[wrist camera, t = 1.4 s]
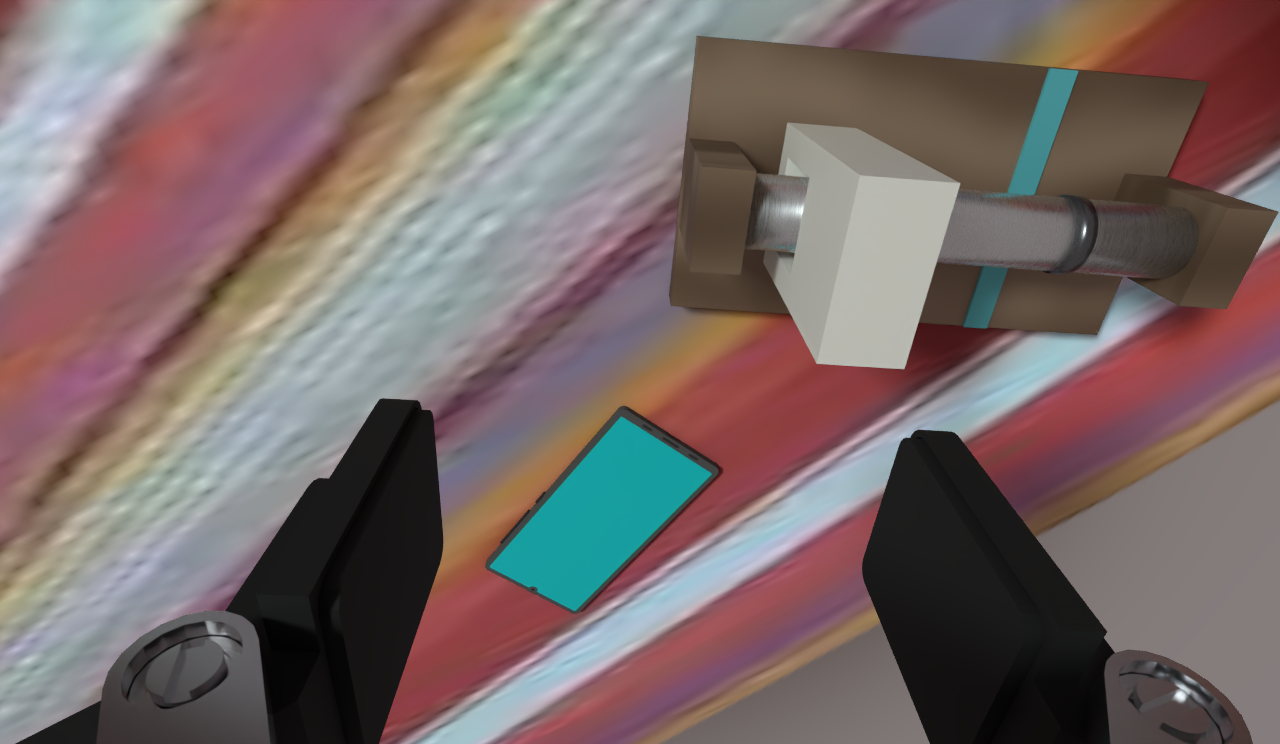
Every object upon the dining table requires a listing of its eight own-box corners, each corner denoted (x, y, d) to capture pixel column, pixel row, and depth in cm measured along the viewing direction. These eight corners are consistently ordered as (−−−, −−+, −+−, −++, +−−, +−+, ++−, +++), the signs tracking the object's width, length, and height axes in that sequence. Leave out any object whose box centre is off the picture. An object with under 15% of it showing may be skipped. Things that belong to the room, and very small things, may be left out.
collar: (787, 122, 29) (860, 175, 20) (856, 128, 29) (960, 183, 20) (762, 262, 31) (816, 363, 22) (826, 266, 32) (904, 369, 23)
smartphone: (721, 470, 40) (576, 615, 45) (719, 462, 40) (577, 605, 46) (621, 406, 37) (481, 567, 43) (621, 398, 38) (484, 557, 44)
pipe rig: (696, 36, 29) (716, 44, 22) (1183, 78, 30) (1338, 99, 24) (669, 294, 35) (678, 362, 28) (1079, 322, 36) (1181, 393, 29)
